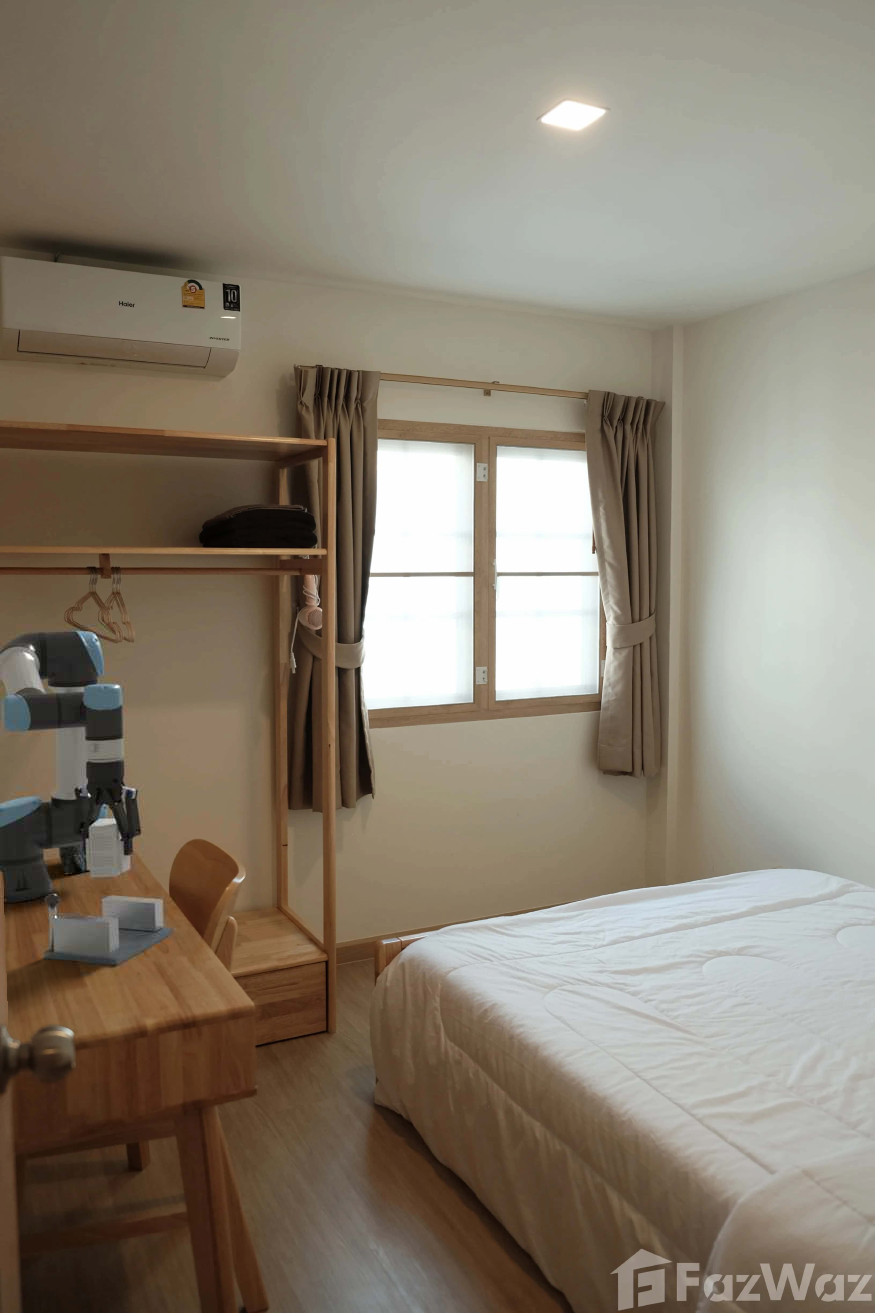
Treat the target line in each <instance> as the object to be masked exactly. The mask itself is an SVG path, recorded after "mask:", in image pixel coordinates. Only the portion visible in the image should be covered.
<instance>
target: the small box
mask: <svg viewBox="0 0 875 1313" xmlns="http://www.w3.org/2000/svg"><path fill="white" fill-rule="evenodd" d="M120 839H122V837H121V834H120V832H119V829H118V825H117V823H116V821H115V818H107V819H98V820H97V821H96V822H95V823H93V824H92V825H91V826H90V827H89V848H90V870H89V872H90V878H92V879H93V878H94V879H95V878H111V877H114V878H115V877H118V876H119V875H120V874H121V873H122V872H119V842H118V841H119V840H120Z"/></svg>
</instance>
